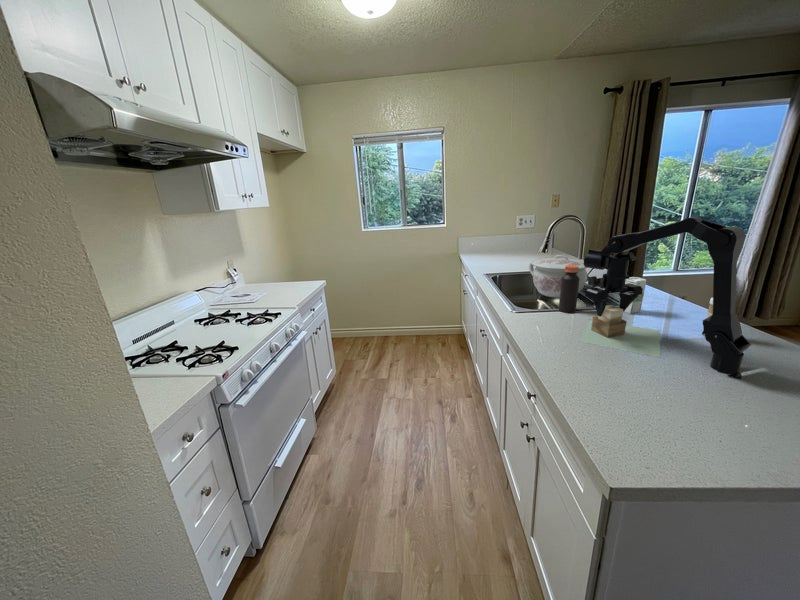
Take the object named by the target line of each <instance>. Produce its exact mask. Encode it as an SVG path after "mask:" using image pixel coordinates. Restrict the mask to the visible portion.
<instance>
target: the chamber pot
mask: <svg viewBox="0 0 800 600" xmlns="http://www.w3.org/2000/svg"><path fill="white" fill-rule="evenodd" d="M567 265H575V266H578V273H577V276H578V277H579V278H580V280H579V288H578V294H579V293H580V292H581V291H582V290H583V288H584V287H585V284H586V282H587V280H588V272H587V270H586V269H588V268H587V267H585V266H584V259H581V258H576V257H570V256H569V257H567V256H566V255H565V254H556V255H554V256H549V257H548V256H547V257H541V258H533V259H532V260H531V261H530V262H529V265H528V269H529V272H530V275H531V276H532V280H533V285H534V286H535V288H536V289H537V292H538V293H539V294H540V295H542V296H545V297H548V298H550V299H551V298H552V299H560V290H561V281H562V277H563V276H564V275H565V274H566V273H565V266H567Z"/></svg>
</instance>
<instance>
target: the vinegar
mask: <svg viewBox="0 0 800 600" xmlns="http://www.w3.org/2000/svg"><path fill="white" fill-rule="evenodd" d="M565 273H566V274H565V275H564V276H563V277H562V281H561V290H560V298H559V299H558V300H559V301H558V311H560V312H562V313H565V314H574V313H575V312H576V311H577V304H578V302H577V301H578V298H579V297H578V296H579V293H578V288H579V280H580V278H579V277H578V276H577V273H578V266H575V265H567V266H565Z"/></svg>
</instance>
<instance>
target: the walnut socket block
mask: <svg viewBox="0 0 800 600" xmlns="http://www.w3.org/2000/svg"><path fill="white" fill-rule="evenodd" d="M591 320H592V328H591V331H594V332H596V333H598V334H600V335H602V336H604V337H606V338H610V337H616V336H621V335H624V334H625V328H626V325H627V322H628V321H627V320H624V319H622V320H621V322H615V323H607V322H605V321H603V320H600V319H598V315H597V316H596V315H595V316H592V319H591Z"/></svg>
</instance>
